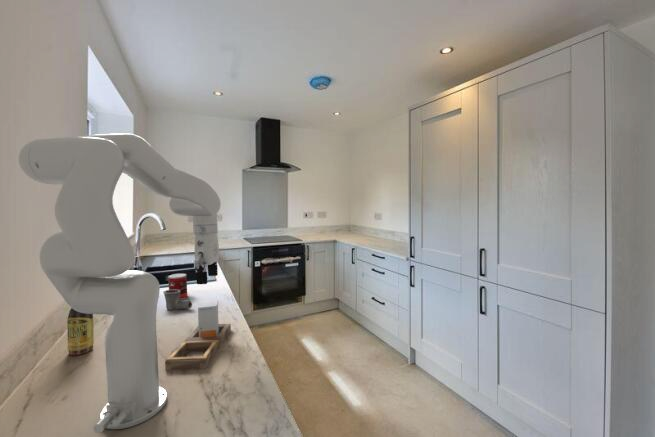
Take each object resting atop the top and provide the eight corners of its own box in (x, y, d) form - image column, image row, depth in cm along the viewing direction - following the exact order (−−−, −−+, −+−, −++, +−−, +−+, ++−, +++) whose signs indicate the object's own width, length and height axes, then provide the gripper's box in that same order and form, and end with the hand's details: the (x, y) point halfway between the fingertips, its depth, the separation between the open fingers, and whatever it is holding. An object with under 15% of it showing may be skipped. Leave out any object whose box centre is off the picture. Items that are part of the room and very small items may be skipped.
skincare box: (198, 343, 95) (197, 307, 95) (200, 337, 100) (199, 303, 99) (218, 340, 97) (216, 305, 96) (219, 334, 101) (218, 301, 100)
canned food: (169, 296, 144) (168, 274, 143) (187, 293, 147) (186, 272, 146) (168, 300, 137) (167, 278, 136) (187, 298, 140) (186, 276, 139)
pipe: (185, 312, 122) (185, 294, 121) (159, 310, 125) (159, 292, 124) (195, 307, 128) (194, 289, 127) (170, 305, 130) (169, 288, 130)
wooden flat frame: (205, 368, 81) (205, 359, 80) (165, 370, 80) (165, 360, 80) (230, 330, 104) (230, 322, 104) (200, 331, 104) (199, 323, 104)
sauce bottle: (63, 357, 87) (58, 293, 86) (76, 347, 93) (72, 287, 92) (87, 355, 88) (83, 291, 87) (99, 345, 94) (96, 286, 93)
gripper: (207, 232, 88) (209, 287, 89) (225, 226, 105) (226, 272, 106) (182, 233, 87) (185, 287, 89) (204, 227, 105) (206, 273, 106)
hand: (207, 279), depth 97 cm, fingers open, 9 cm apart
